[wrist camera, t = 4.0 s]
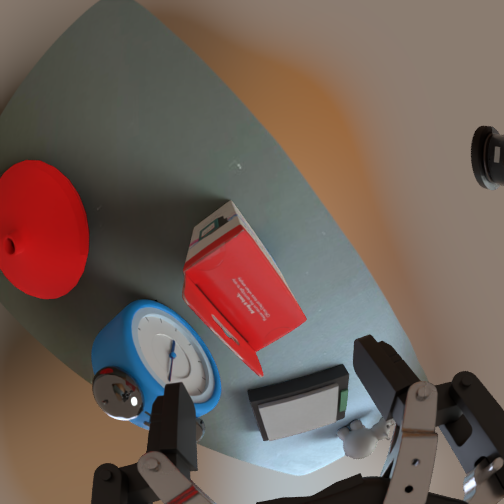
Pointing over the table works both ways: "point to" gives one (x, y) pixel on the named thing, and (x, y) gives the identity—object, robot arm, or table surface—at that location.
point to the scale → (300, 403)
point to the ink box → (238, 286)
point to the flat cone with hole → (41, 230)
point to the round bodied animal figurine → (363, 437)
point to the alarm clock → (151, 363)
